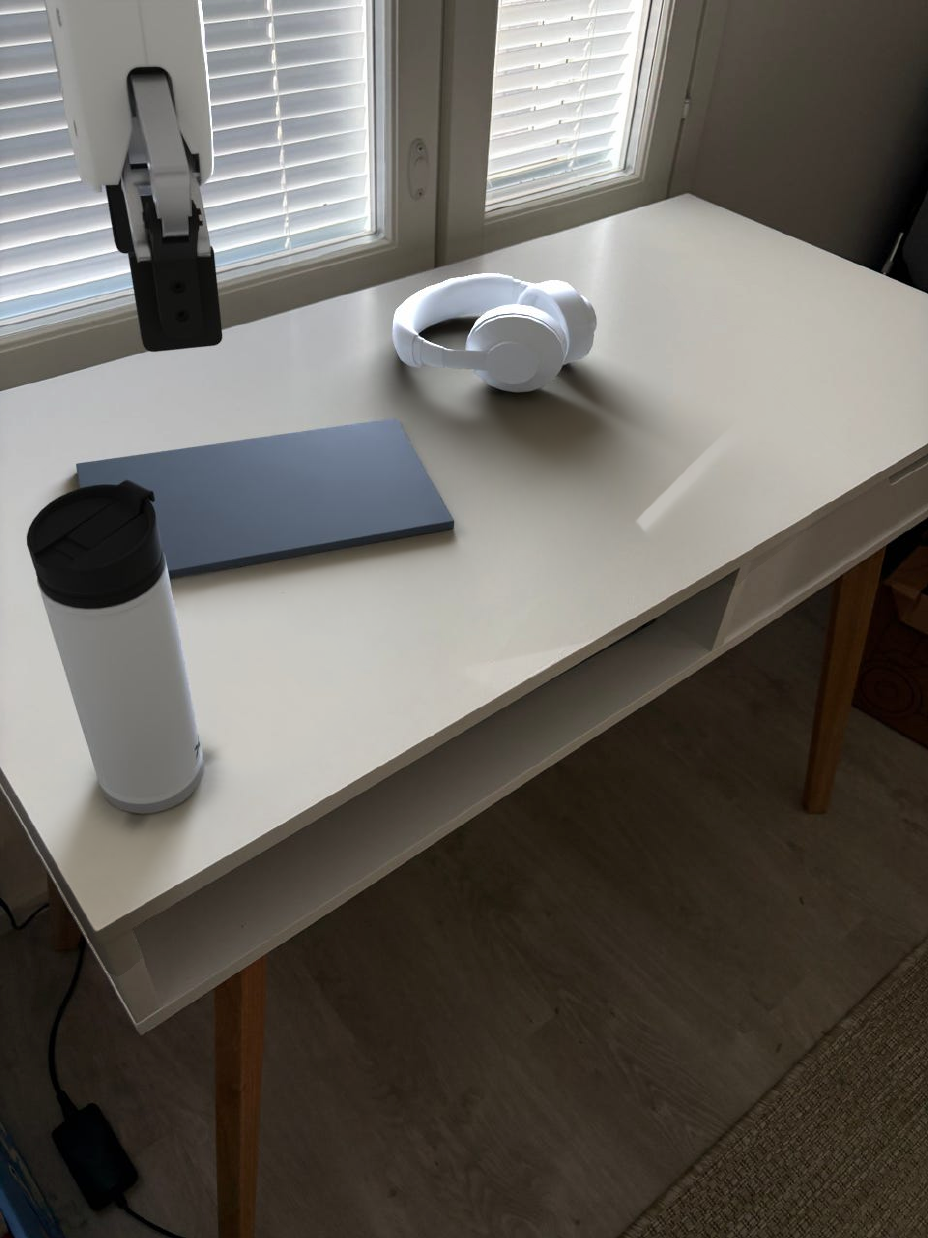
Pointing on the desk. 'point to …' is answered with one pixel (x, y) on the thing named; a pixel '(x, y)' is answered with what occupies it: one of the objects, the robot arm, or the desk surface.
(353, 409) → the desk surface
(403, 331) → the headphones
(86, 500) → the travel mug
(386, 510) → the mat
